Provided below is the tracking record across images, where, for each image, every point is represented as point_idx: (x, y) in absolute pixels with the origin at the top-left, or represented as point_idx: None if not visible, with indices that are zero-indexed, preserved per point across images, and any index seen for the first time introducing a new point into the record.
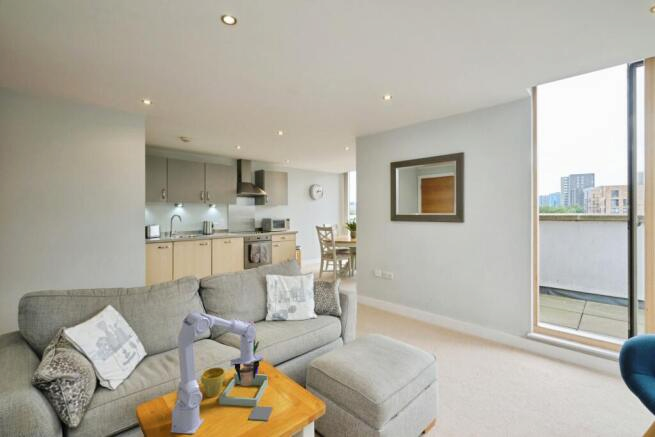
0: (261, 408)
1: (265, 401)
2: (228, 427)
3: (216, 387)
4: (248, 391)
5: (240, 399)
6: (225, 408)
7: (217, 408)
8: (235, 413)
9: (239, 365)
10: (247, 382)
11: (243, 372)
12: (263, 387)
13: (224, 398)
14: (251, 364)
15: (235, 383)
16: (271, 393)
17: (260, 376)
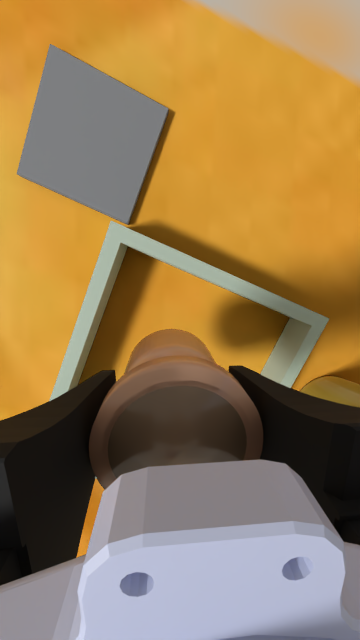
0: (88, 185)
1: (67, 262)
2: (278, 83)
3: (351, 397)
4: None
5: (212, 266)
6: (279, 266)
7: (315, 278)
8: (234, 203)
9: (356, 515)
10: (169, 336)
11: (228, 398)
12: (66, 356)
13: (300, 306)
14: None
15: None
16: (32, 327)
17: None
